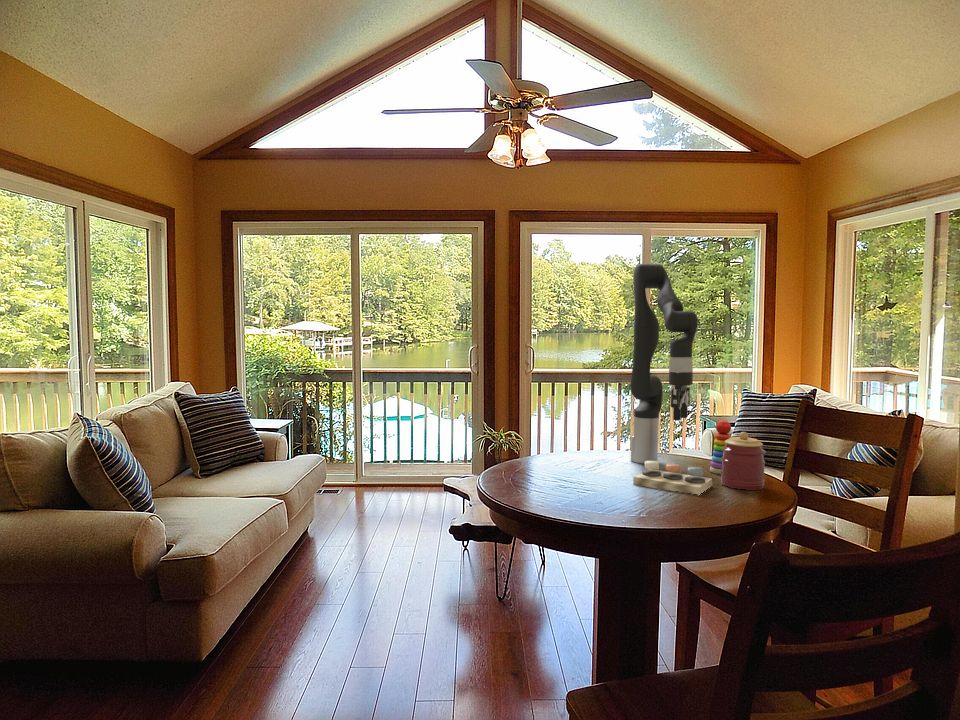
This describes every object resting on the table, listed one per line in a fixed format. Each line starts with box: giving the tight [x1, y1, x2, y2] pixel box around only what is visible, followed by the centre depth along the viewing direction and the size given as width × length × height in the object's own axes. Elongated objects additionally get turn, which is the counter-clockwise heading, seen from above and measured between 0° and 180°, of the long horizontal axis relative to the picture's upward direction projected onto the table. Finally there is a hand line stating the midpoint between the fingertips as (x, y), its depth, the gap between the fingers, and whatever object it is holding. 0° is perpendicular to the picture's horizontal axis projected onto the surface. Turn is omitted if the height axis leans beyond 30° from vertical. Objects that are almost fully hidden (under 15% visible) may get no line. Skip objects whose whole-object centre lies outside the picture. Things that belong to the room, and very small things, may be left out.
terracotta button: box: [665, 463, 682, 474], centre depth 189 cm, size 5×5×2 cm
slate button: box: [686, 466, 704, 477], centre depth 185 cm, size 5×5×2 cm
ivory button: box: [644, 461, 660, 471], centre depth 194 cm, size 5×5×2 cm
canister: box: [720, 431, 766, 491], centre depth 190 cm, size 13×13×18 cm
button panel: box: [632, 469, 713, 496], centre depth 190 cm, size 21×14×3 cm, turn 54°
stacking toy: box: [709, 419, 732, 475], centre depth 208 cm, size 8×8×19 cm
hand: (680, 419), depth 197 cm, fingers open, 8 cm apart
